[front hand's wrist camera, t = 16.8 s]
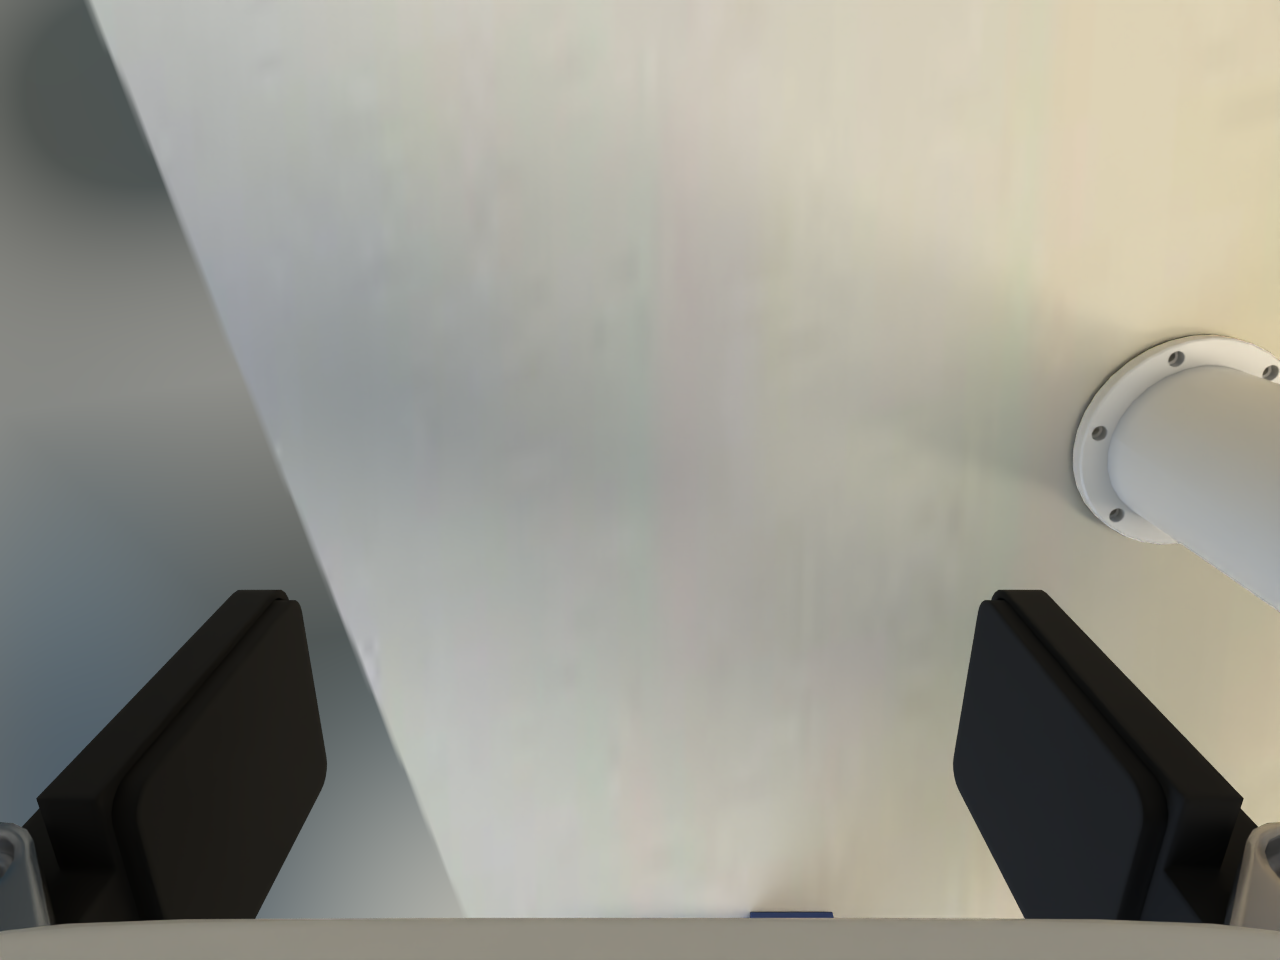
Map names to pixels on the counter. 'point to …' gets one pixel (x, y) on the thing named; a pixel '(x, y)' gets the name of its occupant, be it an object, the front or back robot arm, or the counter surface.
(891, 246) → the counter surface
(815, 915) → the block
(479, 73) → the counter surface
